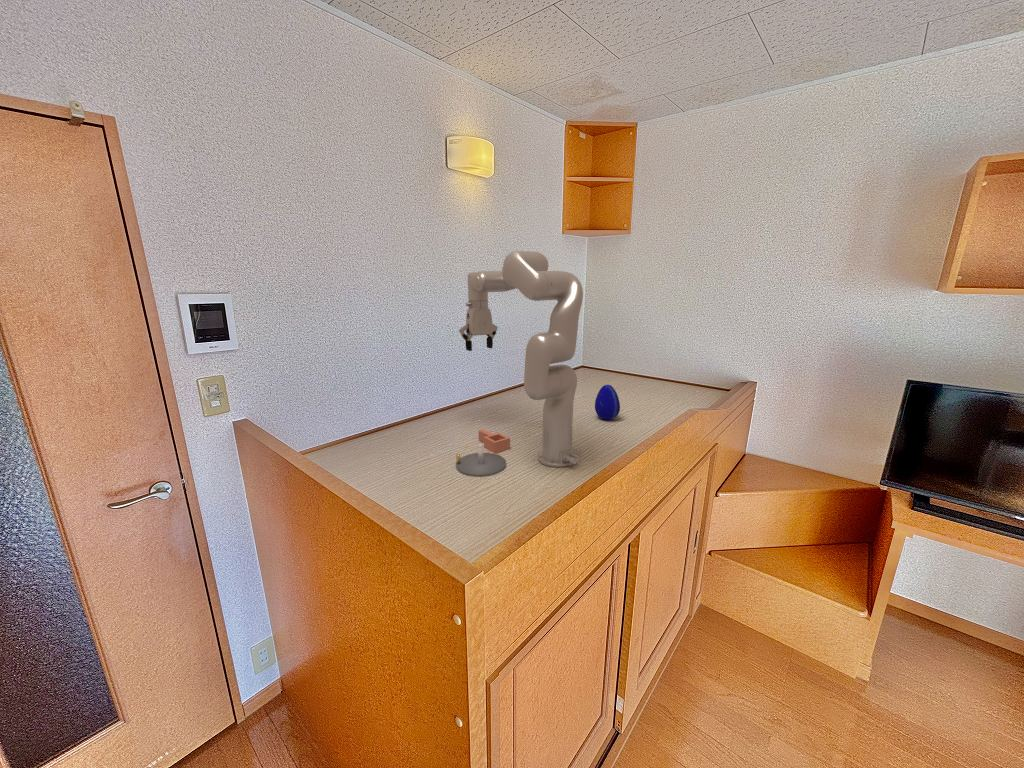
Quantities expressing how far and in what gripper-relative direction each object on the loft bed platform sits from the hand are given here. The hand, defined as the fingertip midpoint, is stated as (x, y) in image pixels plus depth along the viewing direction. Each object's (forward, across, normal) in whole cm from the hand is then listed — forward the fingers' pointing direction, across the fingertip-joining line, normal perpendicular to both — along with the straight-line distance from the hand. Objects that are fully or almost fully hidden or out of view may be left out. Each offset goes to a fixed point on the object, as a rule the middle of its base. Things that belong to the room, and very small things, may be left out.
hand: (479, 349), depth 163 cm
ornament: (+31, +45, -28) cm, 62 cm away
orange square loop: (+31, -10, -22) cm, 39 cm away
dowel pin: (+31, -28, -29) cm, 51 cm away
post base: (+31, -22, -33) cm, 50 cm away
